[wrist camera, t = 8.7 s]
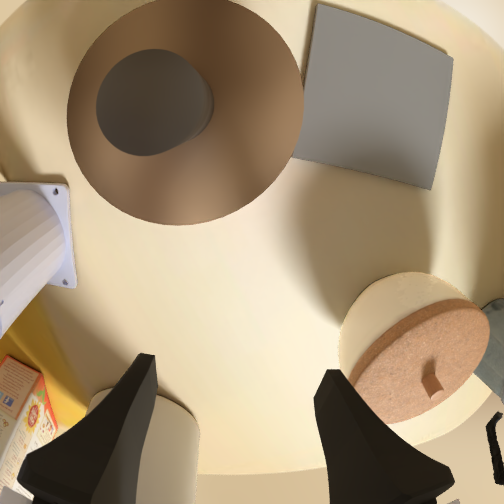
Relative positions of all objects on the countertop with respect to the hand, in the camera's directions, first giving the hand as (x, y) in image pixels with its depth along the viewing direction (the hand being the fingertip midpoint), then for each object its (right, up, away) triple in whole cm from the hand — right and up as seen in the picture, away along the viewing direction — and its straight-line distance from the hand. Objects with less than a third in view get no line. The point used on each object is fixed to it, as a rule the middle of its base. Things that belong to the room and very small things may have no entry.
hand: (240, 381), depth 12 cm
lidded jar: (+11, +1, +11) cm, 15 cm away
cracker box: (-27, -13, +15) cm, 34 cm away
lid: (-3, +12, 0) cm, 12 cm away
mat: (+8, +15, +4) cm, 18 cm away
